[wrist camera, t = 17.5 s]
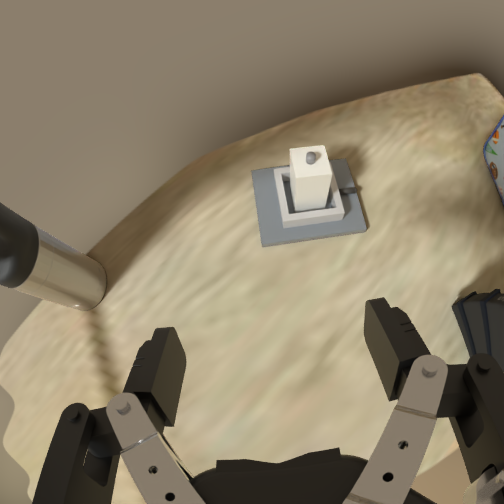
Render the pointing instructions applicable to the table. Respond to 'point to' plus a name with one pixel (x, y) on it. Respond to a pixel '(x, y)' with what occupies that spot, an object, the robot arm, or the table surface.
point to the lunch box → (496, 156)
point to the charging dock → (312, 222)
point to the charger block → (309, 178)
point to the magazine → (482, 323)
